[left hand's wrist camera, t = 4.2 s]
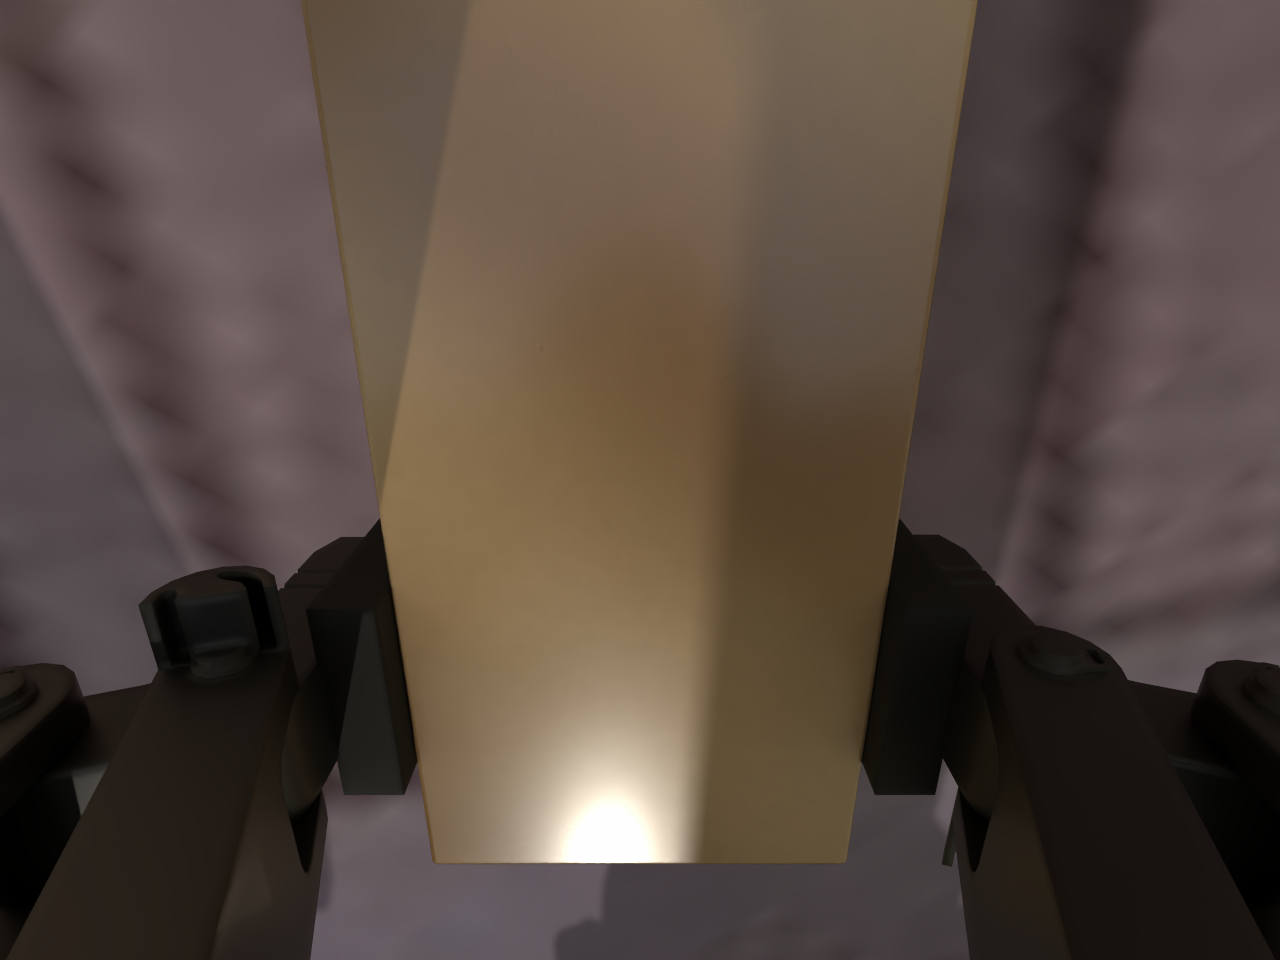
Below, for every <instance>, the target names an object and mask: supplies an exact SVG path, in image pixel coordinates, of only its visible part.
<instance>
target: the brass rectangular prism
mask: <svg viewBox="0 0 1280 960" xmlns="http://www.w3.org/2000/svg"><path fill="white" fill-rule="evenodd" d="M301 3H302V9H303V16H304V22H305V29H306V35H307V42H308V48H309V55H310V61H311V68H312V75H313V81H314V88H315V94H316V101H317V107H318V114H319V120H320V127H321V133H322V140H323V147H324V153H325V160H326V166H327V173H328V179H329V186H330V192H331V199H332V205H333V212H334V219H335V225H336V232H337V238H338V245H339V251H340V258H341V264H342V271H343V277H344V284H345V291H346V297H347V304H348V310H349V317H350V323H351V330H352V336H353V343H354V349H355V356H356V363H357V369H358V376H359V382H360V389H361V395H362V402H363V408H364V415H365V421H366V428H367V435H368V441H369V448H370V454H371V461H372V467H373V474H374V480H375V487H376V493H377V500H378V507H379V513H380V520H381V526H382V533H383V539H384V546H385V552H386V559H387V565H388V572H389V579H390V585H391V592H392V598H393V605H394V611H395V618H396V624H397V631H398V637H399V644H400V651H401V657H402V664H403V670H404V677H405V683H406V690H407V696H408V703H409V709H410V716H411V723H412V729H413V736H414V742H415V749H416V755H417V762H418V768H419V775H420V782H421V788H422V795H423V801H424V808H425V814H426V821H427V827H428V834H429V840H430V847H431V854H432V860H433V862H434V863H436V864H843V863H845V862H846V861H847V854H848V848H849V841H850V835H851V828H852V822H853V815H854V809H855V802H856V795H857V789H858V782H859V776H860V769H861V763H862V756H863V749H864V743H865V736H866V730H867V723H868V717H869V710H870V704H871V697H872V691H873V684H874V677H875V671H876V664H877V658H878V651H879V645H880V638H881V632H882V625H883V618H884V612H885V605H886V599H887V592H888V586H889V579H890V573H891V566H892V560H893V553H894V546H895V540H896V533H897V527H898V520H899V514H900V507H901V501H902V494H903V488H904V481H905V474H906V468H907V461H908V455H909V448H910V442H911V435H912V429H913V422H914V415H915V409H916V402H917V396H918V389H919V383H920V376H921V370H922V363H923V356H924V350H925V343H926V337H927V330H928V324H929V317H930V311H931V304H932V298H933V291H934V284H935V278H936V271H937V265H938V258H939V252H940V245H941V239H942V232H943V225H944V219H945V212H946V206H947V199H948V193H949V186H950V180H951V173H952V167H953V160H954V153H955V147H956V140H957V134H958V127H959V121H960V114H961V108H962V101H963V94H964V88H965V81H966V75H967V68H968V62H969V55H970V49H971V42H972V36H973V29H974V22H975V16H976V9H977V3H978V0H301Z"/></svg>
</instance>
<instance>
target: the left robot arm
mask: <svg viewBox="0 0 1280 960" xmlns="http://www.w3.org/2000/svg"><path fill="white" fill-rule="evenodd" d="M138 606H139V609H140V612H141V615H142V618H143V622H144V625H145V628H146V631H147V634H148V638H149V641H150V644H151V647H152V650H153V654H154V657H155V660H156V663H157V666H158V671H157V673H156V675H155V677H154V679H153V681H152V683H150V684H146V685H142V686H137V687H132V688H126V689H121V690H116V691H111V692H105V693H100V694H95V695H90V696H84V697H83V695H82V692H81V689H80V686H79V684H78V681H77V678H76V676H75V673H74V672H73V671H71V670H70V669H68V668H67V667H65V666H64V665H57V664H46V663H40V664H33V665H25V666H13V667H9V668H5V669H1V671H0V960H310V957H311V949H312V941H313V933H314V925H315V917H316V909H317V901H318V893H319V885H320V877H321V869H322V861H323V853H324V846H325V838H326V830H327V822H328V817H327V810H326V804H325V800H324V795H323V791H322V787H323V785H324V784H325V782H326V780H327V778H328V776H329V774H330V772H331V771H332V769H333V767H334V765H335V763H336V761H337V763H338V767H339V772H340V777H341V782H342V787H343V791H344V795H404V794H405V791H406V789H407V786H408V784H409V781H410V779H411V776H412V774H413V771H414V769H415V766H416V764H417V755H416V749H415V742H414V736H413V729H412V723H411V716H410V709H409V703H408V696H407V690H406V683H405V677H404V670H403V664H402V657H401V651H400V644H399V637H398V631H397V624H396V618H395V611H394V605H393V598H392V592H391V585H390V579H389V572H388V565H387V559H386V552H385V546H384V539H383V533H382V526H381V520H380V519H379V520H378V521H377V522H376V524H375V525H374V526H373V527H372V529H371V530H370V531H369V532H368V534H367V535H366V536H365V537H340V538H338V539H337V540H335V541H333V542H331V543H330V544H328V545H326V546H324V547H323V548H321V549H319V550H317V551H315V552H314V553H313V554H312V555H311V556H310V557H309V558H308V559H307V561H306V562H305V563H304V564H303V565H302V566H301V567H300V568H299V569H298V573H295V574H294V575H293V576H292V577H291V578H290V579H289V580H288V581H287V582H286V583H285V587H284V588H281V589H280V590H279V591H278V590H277V585H276V581H275V576H274V575H273V574H271V573H270V572H268V571H267V570H265V569H262V568H256V567H251V566H230V567H220V568H215V569H210V570H205V571H200V572H196V573H193V574H190V575H188V576H185V577H182V578H179V579H176V580H174V581H171V582H169V583H168V584H166V585H164V586H162V587H160V588H159V589H157V590H155V591H153V592H151V593H150V594H149V595H148V596H147V597H146V598H145V599H144V600H143V601H142V602H141V603H140V604H139V605H138ZM942 759H944V761H945V763H946V765H947V766H948V768H949V770H950V772H951V774H952V776H953V778H954V779H955V781H956V783H957V785H958V791H957V795H956V800H955V804H954V809H953V813H952V817H951V822H950V826H949V831H948V835H947V840H946V844H945V849H944V855H943V861H942V864H943V865H947V866H951V867H952V863H953V859H954V855H955V852H957V860H958V867H959V875H960V883H961V891H962V899H963V907H964V915H965V923H966V931H967V939H968V947H969V955H970V960H1280V667H1279V666H1278V665H1274V664H1269V663H1263V662H1262V663H1258V662H1251V661H1243V660H1230V661H1219V662H1216V663H1214V664H1213V665H1211V666H1210V667H1208V668H1207V669H1206V670H1205V673H1204V675H1203V678H1202V681H1201V684H1200V686H1199V689H1198V692H1197V693H1192V692H1186V691H1181V690H1176V689H1170V688H1165V687H1160V686H1154V685H1149V684H1144V683H1139V682H1134V681H1130V680H1127V678H1126V676H1125V674H1124V672H1123V670H1122V668H1121V667H1120V666H1119V665H1118V664H1117V663H1116V661H1115V660H1114V659H1113V658H1112V657H1111V656H1110V655H1109V654H1108V653H1106V652H1105V651H1103V650H1102V649H1100V648H1099V647H1097V646H1096V645H1094V644H1093V643H1091V642H1089V641H1087V640H1085V639H1082V638H1080V637H1078V636H1075V635H1073V634H1070V633H1068V632H1065V631H1061V630H1056V629H1052V628H1048V627H1044V626H1036V625H1035V624H1034V623H1033V622H1032V621H1031V620H1030V619H1029V618H1028V617H1027V615H1026V614H1025V613H1024V612H1023V611H1022V610H1021V609H1020V608H1019V607H1018V606H1017V605H1016V604H1015V603H1014V601H1013V600H1012V599H1011V598H1010V597H1009V596H1008V595H1007V594H1006V593H1005V592H1004V591H1003V590H1002V589H1001V587H1000V586H995V581H994V580H993V579H992V578H991V577H990V576H989V575H988V574H987V572H986V571H982V567H981V566H980V565H979V564H978V563H977V562H976V561H975V560H974V558H973V557H972V556H971V555H970V554H969V553H968V552H967V551H966V550H965V549H963V548H961V547H960V546H958V545H956V544H954V543H952V542H951V541H949V540H947V539H945V538H944V537H942V536H940V535H912V533H911V532H910V531H909V530H908V528H907V527H906V526H905V525H904V523H903V522H902V521H901V520H900V519H899V520H898V527H897V533H896V540H895V546H894V553H893V560H892V566H891V573H890V579H889V586H888V592H887V599H886V605H885V612H884V618H883V625H882V632H881V638H880V645H879V651H878V658H877V664H876V671H875V677H874V684H873V691H872V697H871V704H870V710H869V717H868V723H867V730H866V736H865V743H864V749H863V756H862V763H863V765H864V768H865V770H866V773H867V776H868V778H869V781H870V783H871V786H872V788H873V791H874V793H875V795H935V793H936V788H937V783H938V778H939V773H940V769H941V764H942Z"/></svg>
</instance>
